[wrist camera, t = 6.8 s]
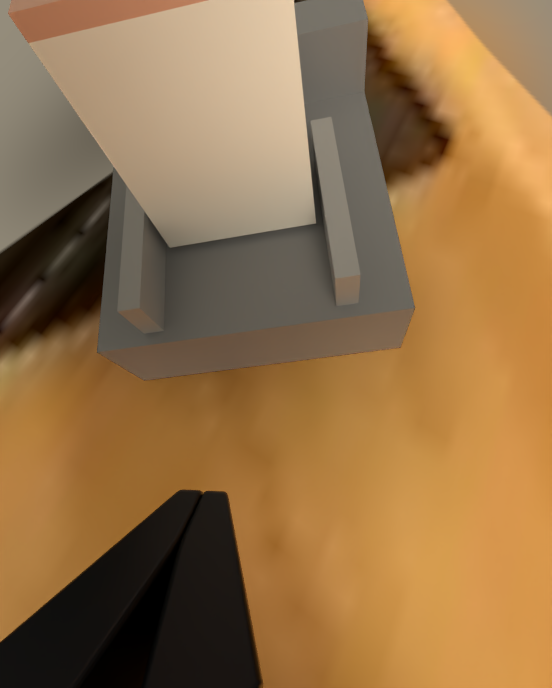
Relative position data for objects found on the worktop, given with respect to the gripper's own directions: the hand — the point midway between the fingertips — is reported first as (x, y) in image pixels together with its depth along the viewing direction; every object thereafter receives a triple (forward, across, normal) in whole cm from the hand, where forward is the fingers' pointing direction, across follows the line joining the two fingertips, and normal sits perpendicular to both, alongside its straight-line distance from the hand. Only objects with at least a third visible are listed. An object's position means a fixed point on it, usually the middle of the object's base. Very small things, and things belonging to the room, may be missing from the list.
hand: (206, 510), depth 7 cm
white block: (+12, +1, -6) cm, 14 cm away
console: (+16, +1, -3) cm, 16 cm away
